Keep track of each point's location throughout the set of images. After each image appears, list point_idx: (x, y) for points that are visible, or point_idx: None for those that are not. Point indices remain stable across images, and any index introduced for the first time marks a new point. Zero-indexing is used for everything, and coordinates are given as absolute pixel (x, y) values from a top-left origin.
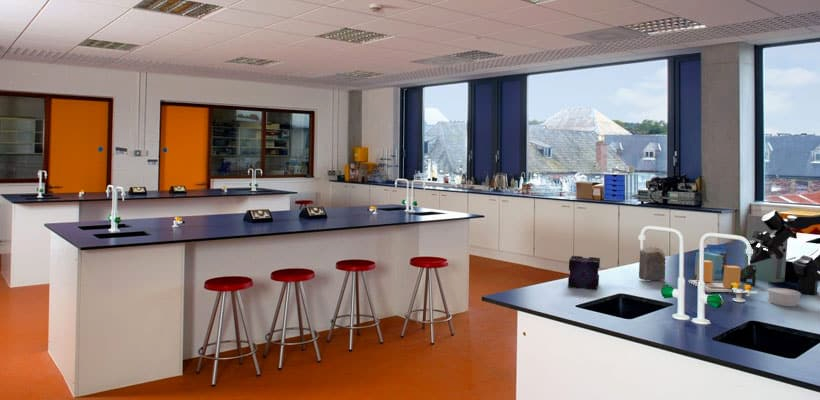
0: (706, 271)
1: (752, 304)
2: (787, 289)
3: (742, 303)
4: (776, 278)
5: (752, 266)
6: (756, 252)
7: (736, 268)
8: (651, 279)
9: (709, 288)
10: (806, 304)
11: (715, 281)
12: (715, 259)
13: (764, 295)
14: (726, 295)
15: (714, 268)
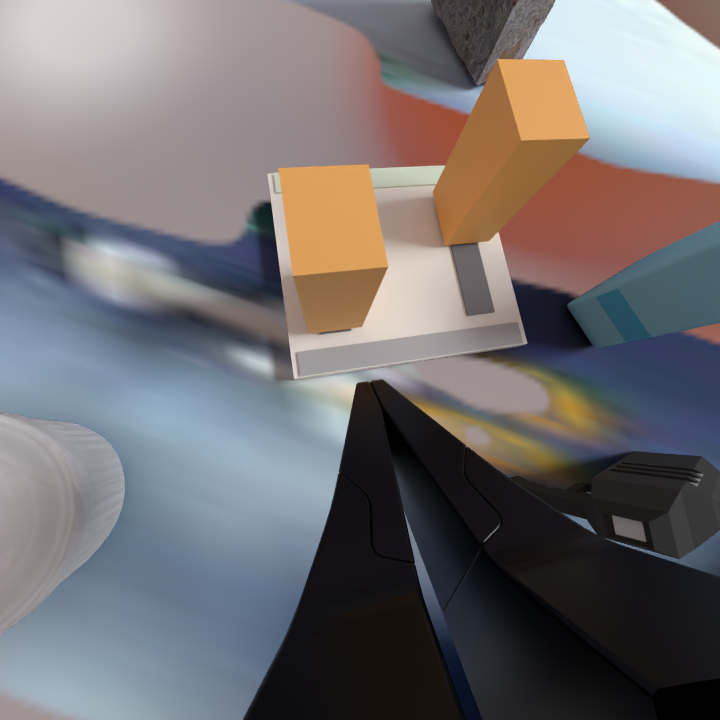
0: (466, 168)
1: (9, 303)
2: (9, 587)
3: (30, 259)
4: None
5: (642, 518)
6: (479, 539)
7: (288, 241)
8: (444, 23)
9: None
10: (43, 653)
11: (484, 278)
12: (716, 244)
13: (264, 459)
14: (219, 248)
15: (631, 278)
